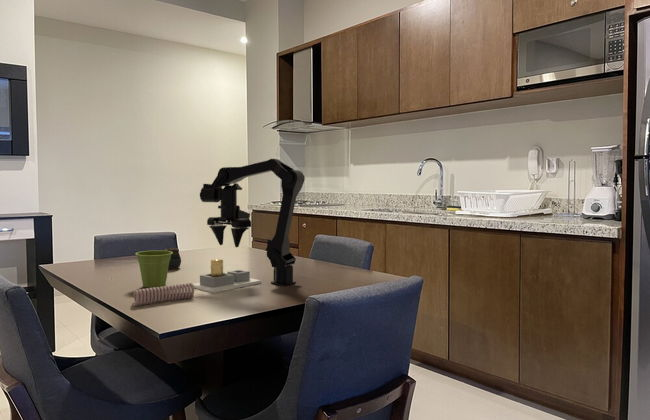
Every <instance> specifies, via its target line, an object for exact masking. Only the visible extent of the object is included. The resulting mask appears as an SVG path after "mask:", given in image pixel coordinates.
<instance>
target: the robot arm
mask: <svg viewBox="0 0 650 420" xmlns="http://www.w3.org/2000/svg"><path fill="white" fill-rule="evenodd" d="M269 172H272V173H273V174H274V175H276V177H277V178H279V179H281V183H280V185H281V186H280V187H281V191H282V197H281V198H282V199H281V201H280V202H281V203H280V207H279V208H280V209H279V213H278V218H277V224H276V228H275V232H274V235H273V238H268V239H267V241H266V242H267V243H266V248H265V250H264V251H265V252H266V257H267V259H268V260H269V261H270V265H271V267H272V268H273V281H270V284H273V285H279V286H283V287H284V286H288V285H293V284H296V283H297V281H294V265H295V264H296V260H297V258H296V257H295V256H294V255H293V254H292V252H291V250H290V249H291V245H290V244H291V243H290V238H289V236H290V235H289V234H290V229H291V225H292V220H293V216H294V215H293V214H294V210H295V205H296V200H297V197H298V195H299V194H300V191H302V188H303V185H304V184H305V180H306V179H305V178H306V177H305V175H304V173H303V172H302V171H301V170H299V169H294V168H293V167H291V166H289V165H288V164H286V163H284V162H283V161H281V160H280V159H278V158H270V159H267V160H263V161H259V162H256V163H251V164H247V165H243V166H225V167H224V166H223V167H221V168H219V170H218V172H217V176H216V177H215V179H214V180H213V182H212V183H203V184H202V187H201V190H200V192H199V198H200V200H201V202H202V203H219V204H220V205H217V209H220V216H210V217H208V218H207V220H206V225H207V226H209V227H208V228H210V229H211V231H212V233H213V235H214V236H215V238H216V240H217V242H218V244H219V246H223V245H224V236H225V235H224V234H225V233H224V232H225V229H226V228H227V225H229V226H231V228H230V231H231V235H232V240H233V244H234V247H235V248H239V246H240V243H241V240H242V238H243V235H244V233H245V232H246V231H247V230H249V229H250V228H251V227H252V220H251V218H250V217H251V213H249V212H247V211H244V210H241V207H240V205H238V203H237V202H238V197H237V195H238V194H237V192H238V191H242V190H243V187H242V186H240V185H239V184H238V183H239V182H241V181H243V180H244V179H245V178H249V177H252V176H257V175H261V174H265V173H269ZM232 184H233V185H232Z"/></svg>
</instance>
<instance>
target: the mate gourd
mask: <svg viewBox="0 0 650 420" xmlns="http://www.w3.org/2000/svg"><path fill="white" fill-rule="evenodd" d="M164 251H171V252H173V253H172V254H171V258H170V261H169V267H168V270H177V269H179V268H180V267H181V264H182V259H181V258H182V257H181V255H180V249H179V248H177V247H172V248H171V247H170V248H169V245H166V248H165V249H164Z"/></svg>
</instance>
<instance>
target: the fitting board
mask: <svg viewBox="0 0 650 420" xmlns="http://www.w3.org/2000/svg"><path fill="white" fill-rule="evenodd" d="M250 273H251V272H250V271H249V270H243V269H236V270H230V271H227V273H226V272H223V276H221V277H211V273H206V274H205V273H204V274H200V275H199V282H197V283H192V284H193V286H194V289H196V290H197V289H198V290H200V291H205V292H208V293H213V294H214V293H219V292H223V291H229V290H233V289H239V288H243V287H248V286H254V285H259V284H262V280H261V279H255V278H250V277H251V276H250V275H251V274H250Z"/></svg>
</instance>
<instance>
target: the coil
mask: <svg viewBox="0 0 650 420" xmlns="http://www.w3.org/2000/svg"><path fill="white" fill-rule="evenodd" d="M193 284H194V283H192V282H187V283H180V284H173V285H171V284H170V285H165V286H163V287H159V286H157V287H153V288H147V287H145V288H142V289H134V291H133V300H134V301H133V302H132V304H131V305H132V306H133V307H138V306H144V305H146V306H147V305H151V304H152V305H153V304H160V303H165V302H167V303H168V302H173V301H174V302H175V301H180V300H186V299H188V300H189V299H192V298H195V288H194V286H193Z"/></svg>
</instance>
